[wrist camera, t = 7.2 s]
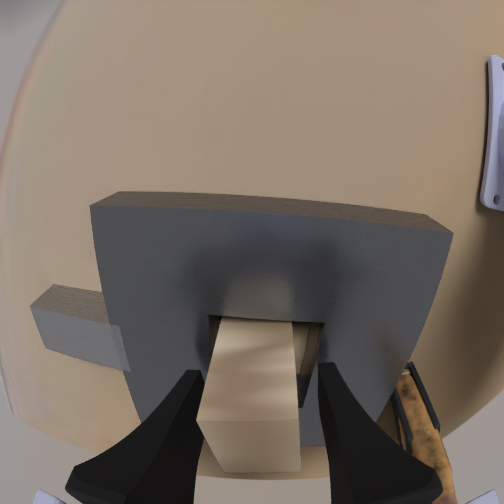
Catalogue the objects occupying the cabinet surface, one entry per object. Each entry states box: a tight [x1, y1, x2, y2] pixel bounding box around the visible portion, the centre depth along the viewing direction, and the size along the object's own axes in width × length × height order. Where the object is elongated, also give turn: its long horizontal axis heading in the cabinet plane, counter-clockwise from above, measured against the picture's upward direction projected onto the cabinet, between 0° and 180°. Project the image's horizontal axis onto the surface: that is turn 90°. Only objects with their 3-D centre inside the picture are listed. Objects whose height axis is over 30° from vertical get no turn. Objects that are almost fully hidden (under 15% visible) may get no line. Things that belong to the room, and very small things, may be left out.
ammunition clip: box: [390, 362, 458, 504], centre depth 12 cm, size 11×2×12 cm, turn 25°
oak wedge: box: [196, 316, 301, 473], centre depth 11 cm, size 3×4×7 cm
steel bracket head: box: [30, 192, 453, 446], centre depth 14 cm, size 20×14×2 cm
